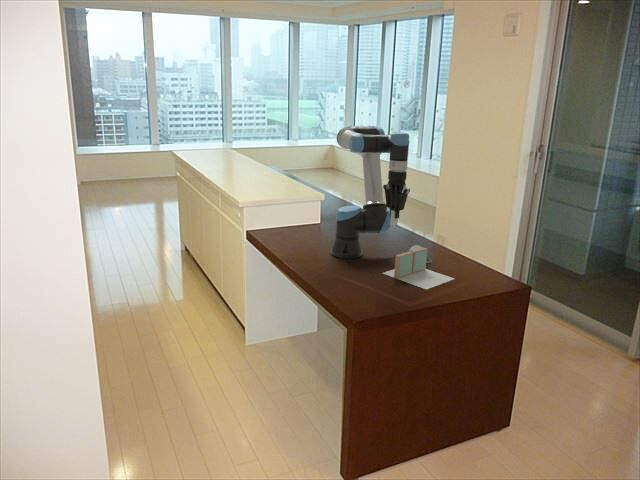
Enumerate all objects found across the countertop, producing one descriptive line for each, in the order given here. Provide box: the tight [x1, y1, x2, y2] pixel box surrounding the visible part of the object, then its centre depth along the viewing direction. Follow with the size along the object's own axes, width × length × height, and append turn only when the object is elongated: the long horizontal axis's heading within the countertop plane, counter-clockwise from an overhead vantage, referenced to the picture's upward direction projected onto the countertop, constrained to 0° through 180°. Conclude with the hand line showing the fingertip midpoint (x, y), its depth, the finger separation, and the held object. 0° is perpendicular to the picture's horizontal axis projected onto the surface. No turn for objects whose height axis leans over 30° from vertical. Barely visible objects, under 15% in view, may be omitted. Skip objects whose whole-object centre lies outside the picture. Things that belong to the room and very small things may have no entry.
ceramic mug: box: [408, 244, 433, 264], centre depth 248 cm, size 11×8×8 cm
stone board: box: [382, 268, 455, 290], centre depth 229 cm, size 24×20×1 cm
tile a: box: [393, 250, 413, 280], centre depth 226 cm, size 2×9×10 cm, turn 132°
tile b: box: [411, 246, 428, 274], centre depth 233 cm, size 2×9×10 cm, turn 132°
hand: (393, 225), depth 227 cm, fingers closed
